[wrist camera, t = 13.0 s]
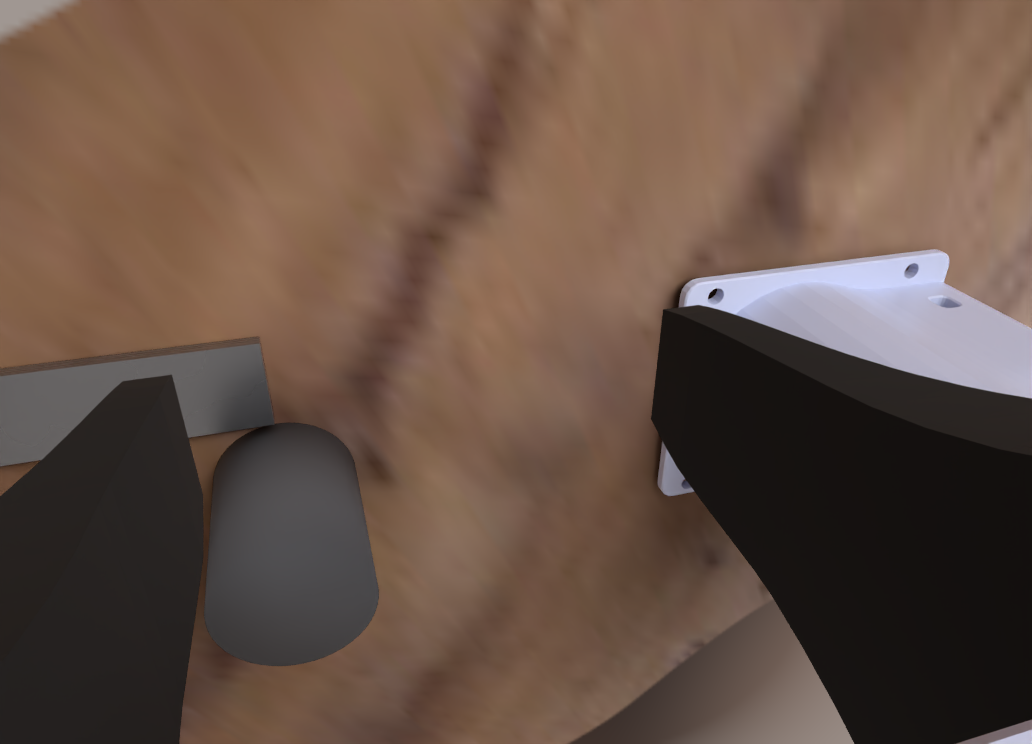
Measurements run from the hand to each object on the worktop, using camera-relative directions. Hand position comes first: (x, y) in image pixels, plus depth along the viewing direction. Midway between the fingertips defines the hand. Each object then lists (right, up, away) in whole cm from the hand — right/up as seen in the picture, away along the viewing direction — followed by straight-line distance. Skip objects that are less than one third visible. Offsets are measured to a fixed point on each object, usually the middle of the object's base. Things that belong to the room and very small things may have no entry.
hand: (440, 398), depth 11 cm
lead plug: (-6, -3, +11) cm, 13 cm away
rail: (-11, -1, +8) cm, 13 cm away
